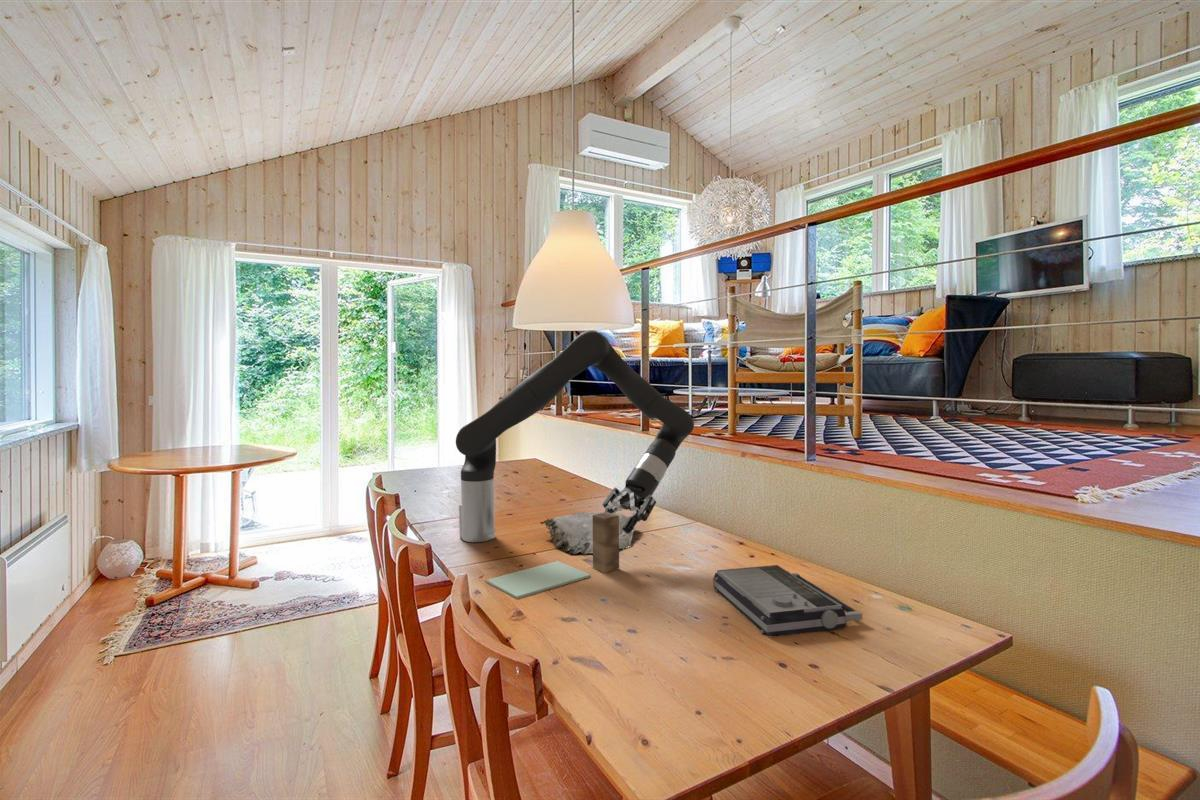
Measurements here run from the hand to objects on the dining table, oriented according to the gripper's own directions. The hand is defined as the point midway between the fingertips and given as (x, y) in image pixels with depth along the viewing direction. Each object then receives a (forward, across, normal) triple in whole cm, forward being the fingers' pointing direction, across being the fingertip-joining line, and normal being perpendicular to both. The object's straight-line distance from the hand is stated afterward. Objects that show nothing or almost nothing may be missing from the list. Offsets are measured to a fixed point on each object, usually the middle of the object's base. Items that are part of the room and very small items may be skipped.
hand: (613, 528), depth 143 cm
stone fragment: (-1, -21, +15) cm, 26 cm away
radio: (+1, +41, +13) cm, 43 cm away
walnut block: (+8, 0, +5) cm, 10 cm away
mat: (+20, -4, -7) cm, 22 cm away
